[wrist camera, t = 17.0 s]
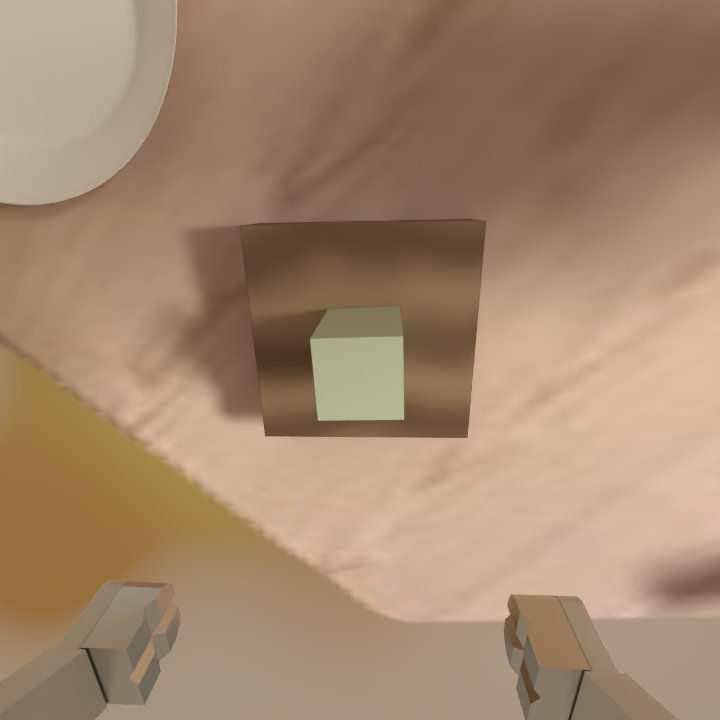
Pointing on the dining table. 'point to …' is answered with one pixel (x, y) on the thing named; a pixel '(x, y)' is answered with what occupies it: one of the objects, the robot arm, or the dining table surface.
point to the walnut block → (366, 289)
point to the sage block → (359, 364)
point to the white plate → (78, 91)
